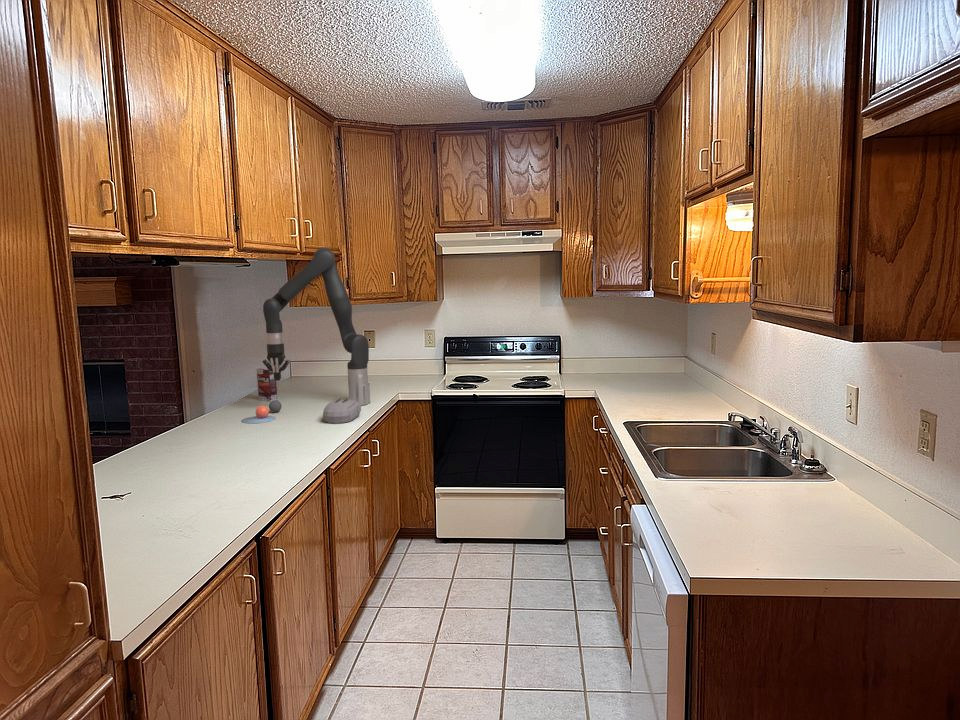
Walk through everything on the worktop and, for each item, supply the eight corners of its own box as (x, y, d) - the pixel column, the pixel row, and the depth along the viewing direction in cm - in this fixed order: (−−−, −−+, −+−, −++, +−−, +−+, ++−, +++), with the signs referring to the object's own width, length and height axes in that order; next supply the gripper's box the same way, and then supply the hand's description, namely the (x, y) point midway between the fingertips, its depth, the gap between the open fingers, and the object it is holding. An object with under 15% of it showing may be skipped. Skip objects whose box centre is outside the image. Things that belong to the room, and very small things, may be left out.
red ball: (267, 403, 280) (264, 415, 277) (272, 409, 285) (269, 420, 282) (255, 403, 281) (252, 414, 278) (260, 408, 285) (257, 420, 283)
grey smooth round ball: (279, 399, 291) (276, 410, 289) (284, 403, 296) (281, 414, 294) (268, 397, 292) (265, 409, 290) (274, 402, 297) (270, 413, 295)
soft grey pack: (332, 414, 287) (316, 424, 268) (331, 395, 286) (315, 405, 266) (365, 414, 286) (352, 424, 266) (364, 395, 285) (351, 405, 265)
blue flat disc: (281, 416, 284) (281, 416, 284) (265, 423, 271) (265, 423, 270) (251, 415, 287) (251, 415, 287) (234, 423, 273) (234, 422, 273)
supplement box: (258, 400, 323) (255, 369, 321) (265, 398, 327) (263, 367, 325) (270, 401, 319) (268, 369, 317) (278, 400, 323) (276, 368, 321)
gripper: (257, 343, 290) (260, 381, 293) (284, 343, 288) (287, 381, 290) (265, 341, 298) (268, 379, 300) (292, 341, 295) (294, 379, 298)
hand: (277, 380), depth 295 cm, fingers closed
